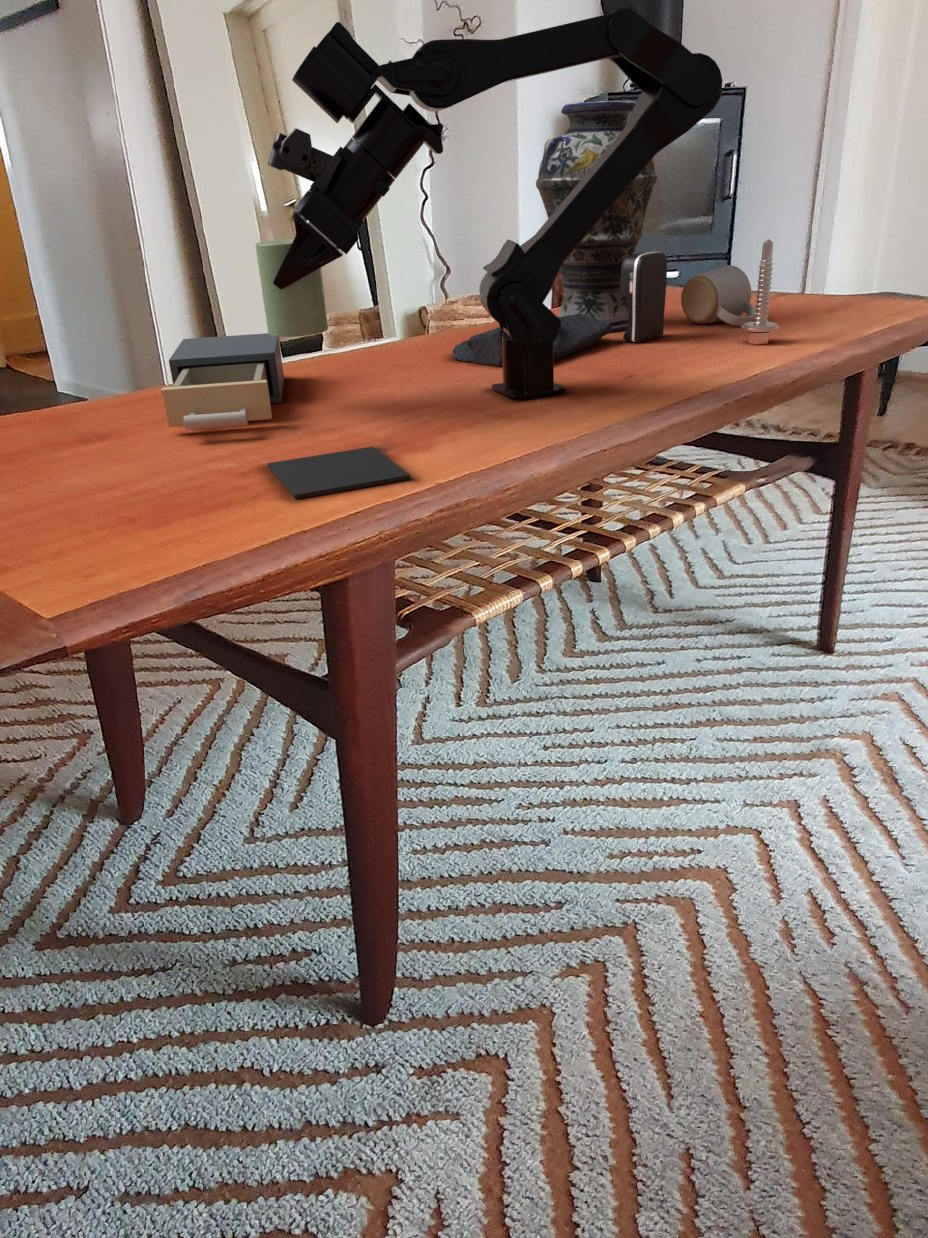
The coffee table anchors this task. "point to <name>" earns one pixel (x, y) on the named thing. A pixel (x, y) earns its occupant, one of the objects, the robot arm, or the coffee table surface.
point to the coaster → (336, 472)
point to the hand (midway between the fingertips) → (278, 282)
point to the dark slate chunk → (570, 339)
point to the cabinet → (233, 356)
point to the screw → (762, 300)
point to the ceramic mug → (718, 297)
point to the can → (290, 295)
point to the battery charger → (644, 294)
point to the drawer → (218, 396)
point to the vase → (617, 233)
